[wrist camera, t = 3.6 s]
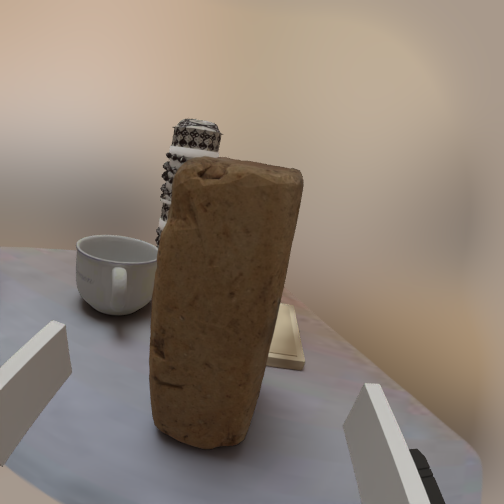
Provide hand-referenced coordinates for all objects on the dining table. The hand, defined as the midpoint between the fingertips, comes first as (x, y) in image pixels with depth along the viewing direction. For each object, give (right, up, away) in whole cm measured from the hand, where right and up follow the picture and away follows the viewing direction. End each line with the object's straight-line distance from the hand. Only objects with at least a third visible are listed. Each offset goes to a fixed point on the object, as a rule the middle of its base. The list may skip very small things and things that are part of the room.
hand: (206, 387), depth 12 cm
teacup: (-15, -2, +24) cm, 29 cm away
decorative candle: (-11, +2, +41) cm, 42 cm away
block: (-2, -8, +12) cm, 15 cm away
